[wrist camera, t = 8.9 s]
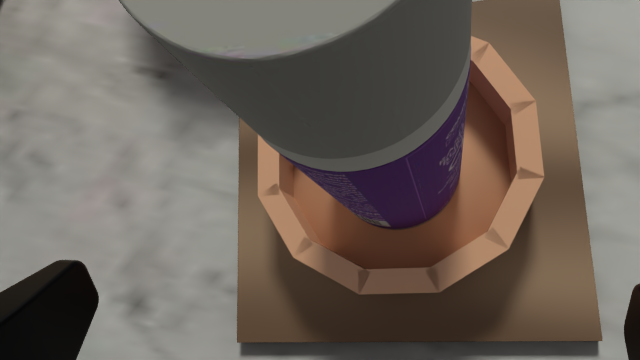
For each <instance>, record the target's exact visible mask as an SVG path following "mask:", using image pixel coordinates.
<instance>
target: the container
mask: <svg viewBox="0 0 640 360" xmlns="http://www.w3.org/2000/svg"><path fill="white" fill-rule="evenodd" d="M119 1H120V3H121V4H122V5H123V7H124V8H125V9H126V11H127V12H128V13H129V14H130V15H131V16H132V17H133V18H134V19H135V20H136V21H137V22H138V23H139V24H140V25H141V26H142V27H143V28H144V29H145V30H146V31H147V32H148V33H149V34H151V35H152V36H153V37H154V38H155V39H156V40H157V41H158V42H159V43H160V44H161V45H162V46H163V47H165V48H166V49H167V50H168V51H169V52H170V53H171V54H172V55H173V56H174V57H175V58H176V59H177V60H179V61H180V62H181V63H182V64H183V65H184V66H185V67H186V68H187V69H188V70H189V71H190V72H191V73H193V74H194V75H195V76H196V77H197V78H198V79H199V80H200V81H201V82H202V83H203V84H204V85H205V86H207V87H208V88H209V89H210V90H211V91H212V92H213V93H214V94H215V95H216V96H217V97H218V98H219V99H221V100H222V101H223V102H224V103H225V104H226V105H227V106H228V107H229V108H230V109H231V110H232V111H233V112H235V113H236V114H237V115H238V116H239V117H240V118H241V119H242V120H243V121H244V122H245V123H246V124H247V125H249V126H250V127H251V128H252V129H253V130H254V131H255V132H256V133H257V134H258V135H259V136H260V137H261V138H262V139H263V140H264V141H265V142H266V143H267V144H268V145H269V146H271V147H272V148H273V149H274V150H276V151H277V152H278V153H279V154H281V155H282V156H283V157H284V158H285V159H287V160H288V161H289V162H290V163H292V164H293V165H294V166H295V167H297V168H298V169H299V170H300V171H301V172H303V173H304V174H305V175H306V176H308V177H309V178H310V179H311V180H313V181H314V182H315V183H316V184H317V185H319V186H320V187H321V188H322V189H324V190H325V191H326V192H327V193H329V194H330V195H331V196H332V197H334V198H335V199H336V200H337V201H338V202H340V203H341V204H342V205H343V206H345V207H346V208H347V209H348V210H350V211H351V212H352V213H353V214H354V215H356V216H357V217H358V218H360V219H361V220H363V221H365V222H367V223H369V224H371V225H373V226H376V227H379V228H382V229H388V230H404V229H410V228H414V227H417V226H420V225H422V224H425V223H427V222H428V221H430V220H432V219H433V218H435V217H436V216H437V215H438V214H440V213H441V212H442V211H443V210H444V209H445V207H446V206H447V205H448V204H449V202H450V200H451V199H452V197H453V195H454V193H455V191H456V188H457V186H458V182H459V178H460V171H461V161H462V150H463V139H464V128H465V118H466V107H467V96H468V85H469V74H470V64H471V15H472V0H119Z"/></svg>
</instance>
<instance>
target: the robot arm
mask: <svg viewBox="0 0 640 360" xmlns="http://www.w3.org/2000/svg"><path fill="white" fill-rule="evenodd" d="M98 302H99V296H98V292H97V290H96V288H95V285H94V283H93V281H92V279H91V277H90V275H89V272H88V270H87V268H86V266H85V265H84V264H83V263H82V262H81V261H78V260H59V261H56V262H54V263H52V264H50V265H49V266H47V267H45V268H43V269H41V270H40V271H38V272H36V273H34V274H32V275H31V276H29V277H27V278H25V279H24V280H22V281H20V282H18V283H16V284H15V285H13V286H11V287H9V288H7V289H6V290H4V291H2V292H0V360H76V359H77V356H78V354H79V351H80V349H81V346H82V344H83V341H84V339H85V336H86V334H87V332H88V329H89V327H90V324H91V322H92V319H93V317H94V314H95V312H96V309H97V307H98ZM624 337H625V343H626V348H627V353H628V358H629V360H640V284H637V285H636V286H635V287H634V289H633V291H632V295H631V299H630V303H629V307H628V311H627V315H626V319H625V324H624Z"/></svg>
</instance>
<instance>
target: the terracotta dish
mask: <svg viewBox="0 0 640 360" xmlns="http://www.w3.org/2000/svg"><path fill="white" fill-rule="evenodd" d="M543 179H544V170H543V161H542V152H541V143H540V134H539V125H538V116H537V107H536V100H535V99H534V98H533V97H532V95H531V94H530V93H529V92H528V90H527V89H526V88H525V87H524V85H523V84H522V83H521V82H520V80H519V79H518V78H517V77H516V75H515V74H514V73H513V72H512V71H511V69H510V68H509V67H508V66H507V64H506V63H505V62H504V61H503V59H502V58H501V57H500V56H499V54H498V53H497V52H496V51H495V49H494V48H493V47H492V46H491V44H490V43H488V42H486V41H483V40H481V39H478V38H475V37H473V36H471V64H470V74H469V85H468V96H467V107H466V118H465V128H464V139H463V150H462V161H461V171H460V178H459V182H458V186H457V188H456V191H455V193H454V195H453V197H452V199H451V200H450V202H449V204H448V205H447V206H446V207H445V209H444V210H443V211H442V212H441V213H440V214H438V215H437V216H436V217H435V218H433V219H432V220H430V221H428V222H427V223H425V224H422V225H420V226H417V227H414V228H410V229H404V230H388V229H382V228H379V227H376V226H373V225H371V224H369V223H367V222H365V221H363V220H361V219H360V218H358V217H357V216H356V215H354V214H353V213H352V212H351V211H350V210H348V209H347V208H346V207H345V206H343V205H342V204H341V203H340V202H338V201H337V200H336V199H335V198H334V197H332V196H331V195H330V194H329V193H327V192H326V191H325V190H324V189H322V188H321V187H320V186H319V185H317V184H316V183H315V182H314V181H313V180H311V179H310V178H309V177H308V176H306V175H305V174H304V173H303V172H301V171H300V170H299V169H298V168H297V167H295V166H294V165H293V164H292V163H290V162H289V161H288V160H287V159H285V158H284V157H283V156H282V155H281V154H279V153H278V152H277V151H276V150H274V149H273V148H272V147H271V146H269V145H268V144H267V143H266V142H265V141H264V140H263V139H262V138H261V137H260V136H259V135H258V197H259V199H260V201H261V202H262V204H263V206H264V208H265V209H266V211H267V213H268V214H269V216H270V218H271V220H272V221H273V223H274V225H275V227H276V228H277V230H278V232H279V234H280V235H281V237H282V239H283V241H284V242H285V244H286V246H287V247H288V249H289V251H290V253H291V254H292V256H293V258H295V259H297V260H299V261H300V262H302V263H304V264H306V265H308V266H309V267H311V268H313V269H315V270H317V271H318V272H320V273H322V274H324V275H325V276H327V277H329V278H331V279H333V280H334V281H336V282H338V283H340V284H341V285H343V286H345V287H347V288H349V289H350V290H352V291H354V292H356V293H358V294H359V295H368V294H406V293H440V292H442V291H443V290H445V289H447V288H448V287H450V286H451V285H453V284H455V283H456V282H458V281H459V280H461V279H463V278H464V277H466V276H467V275H469V274H471V273H472V272H474V271H475V270H477V269H479V268H480V267H482V266H483V265H485V264H487V263H488V262H490V261H492V260H493V259H495V258H496V257H498V256H500V255H501V254H503V253H504V252H506V251H507V250H508V249H509V247H510V245H511V243H512V241H513V239H514V237H515V235H516V233H517V231H518V229H519V227H520V225H521V223H522V221H523V219H524V217H525V215H526V213H527V211H528V209H529V207H530V205H531V203H532V201H533V199H534V197H535V195H536V193H537V191H538V189H539V187H540V185H541V183H542V181H543Z"/></svg>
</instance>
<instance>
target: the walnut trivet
mask: <svg viewBox="0 0 640 360" xmlns="http://www.w3.org/2000/svg"><path fill="white" fill-rule="evenodd" d="M471 36H473V37H475V38H478V39H481V40H483V41H486V42H488V43H490V44H491V46H492V47H493V48H494V49H495V51H496V52H497V53H498V54H499V56H500V57H501V58H502V59H503V61H504V62H505V63H506V64H507V66H508V67H509V68H510V69H511V71H512V72H513V73H514V74H515V75H516V77H517V78H518V79H519V80H520V82H521V83H522V84H523V85H524V87H525V88H526V89H527V90H528V92H529V93H530V94H531V95H532V97H533V98H534V99H535V100H536V107H537V116H538V125H539V134H540V143H541V152H542V161H543V170H544V179H543V181H542V183H541V185H540V187H539V189H538V191H537V193H536V195H535V197H534V199H533V201H532V203H531V205H530V207H529V209H528V211H527V213H526V215H525V217H524V219H523V221H522V223H521V225H520V227H519V229H518V231H517V233H516V235H515V237H514V239H513V241H512V243H511V245H510V247H509V249H508V250H507V251H506V252H504V253H503V254H501V255H500V256H498V257H496V258H495V259H493V260H492V261H490V262H488V263H487V264H485V265H483V266H482V267H480V268H479V269H477V270H475V271H474V272H472V273H471V274H469V275H467V276H466V277H464V278H463V279H461V280H459V281H458V282H456V283H455V284H453V285H451V286H450V287H448V288H447V289H445V290H443V291H442V292H440V293H406V294H368V295H359V294H358V293H356V292H354V291H352V290H350V289H349V288H347V287H345V286H343V285H341V284H340V283H338V282H336V281H334V280H333V279H331V278H329V277H327V276H325V275H324V274H322V273H320V272H318V271H317V270H315V269H313V268H311V267H309V266H308V265H306V264H304V263H302V262H300V261H299V260H297V259H295V258H293V256H292V254H291V253H290V251H289V249H288V247H287V246H286V244H285V242H284V241H283V239H282V237H281V235H280V234H279V232H278V230H277V228H276V227H275V225H274V223H273V221H272V220H271V218H270V216H269V214H268V213H267V211H266V209H265V208H264V206H263V204H262V202H261V201H260V199H259V197H258V134H257V133H256V132H255V131H254V130H253V129H252V128H251V127H250V126H249V125H247V124H246V123H245V122H244V121H243V120H242V119H241V118H240V117H239V202H238V301H237V342H463V341H602V334H601V326H600V318H599V310H598V302H597V294H596V286H595V278H594V270H593V262H592V254H591V246H590V238H589V231H588V223H587V215H586V207H585V199H584V191H583V183H582V175H581V167H580V159H579V151H578V143H577V135H576V128H575V120H574V112H573V104H572V96H571V88H570V80H569V72H568V64H567V56H566V48H565V40H564V32H563V25H562V17H561V9H560V1H559V0H483V1H475V2H472V15H471Z"/></svg>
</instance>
